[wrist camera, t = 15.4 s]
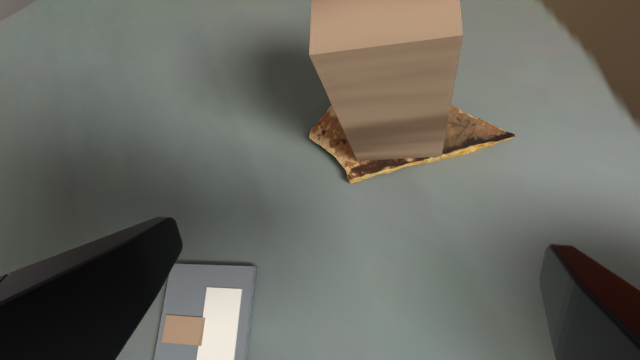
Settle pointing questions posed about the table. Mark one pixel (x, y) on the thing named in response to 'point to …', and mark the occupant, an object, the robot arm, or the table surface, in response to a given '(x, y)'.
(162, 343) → the card
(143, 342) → the table surface
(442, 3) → the walnut block
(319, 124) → the shard
